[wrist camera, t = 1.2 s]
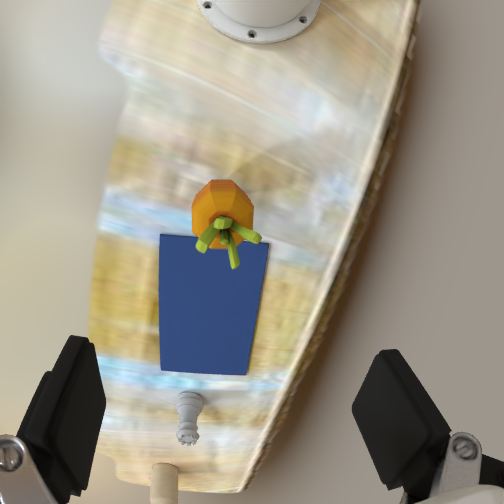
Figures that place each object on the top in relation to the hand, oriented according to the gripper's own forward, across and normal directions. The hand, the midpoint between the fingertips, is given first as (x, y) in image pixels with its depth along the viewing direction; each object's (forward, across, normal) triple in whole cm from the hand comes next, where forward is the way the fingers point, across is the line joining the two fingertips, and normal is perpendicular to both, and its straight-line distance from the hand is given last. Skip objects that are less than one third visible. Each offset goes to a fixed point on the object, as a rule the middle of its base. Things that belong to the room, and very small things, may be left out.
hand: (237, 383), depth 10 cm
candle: (+27, +7, +56) cm, 63 cm away
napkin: (+26, 0, +15) cm, 30 cm away
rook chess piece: (+26, +2, +32) cm, 41 cm away
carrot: (+26, 0, 0) cm, 26 cm away
